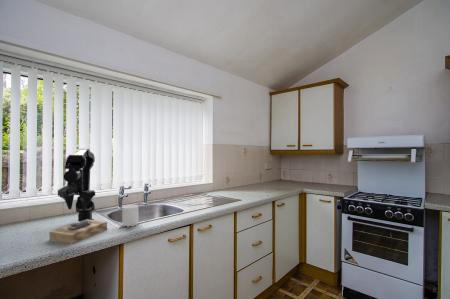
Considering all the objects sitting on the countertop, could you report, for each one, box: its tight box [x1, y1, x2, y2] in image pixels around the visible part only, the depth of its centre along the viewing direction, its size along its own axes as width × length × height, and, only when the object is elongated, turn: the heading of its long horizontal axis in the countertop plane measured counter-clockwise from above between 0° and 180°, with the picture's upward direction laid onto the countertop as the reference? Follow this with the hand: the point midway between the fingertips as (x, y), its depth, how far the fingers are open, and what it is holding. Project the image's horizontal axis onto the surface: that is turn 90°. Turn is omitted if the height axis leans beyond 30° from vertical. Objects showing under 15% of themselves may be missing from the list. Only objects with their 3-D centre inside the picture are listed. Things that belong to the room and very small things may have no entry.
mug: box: [121, 204, 139, 228], centre depth 134 cm, size 12×8×10 cm
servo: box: [67, 220, 92, 229], centre depth 118 cm, size 10×4×7 cm, turn 162°
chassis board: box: [49, 219, 108, 245], centre depth 118 cm, size 20×14×4 cm
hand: (76, 210), depth 120 cm, fingers open, 9 cm apart
